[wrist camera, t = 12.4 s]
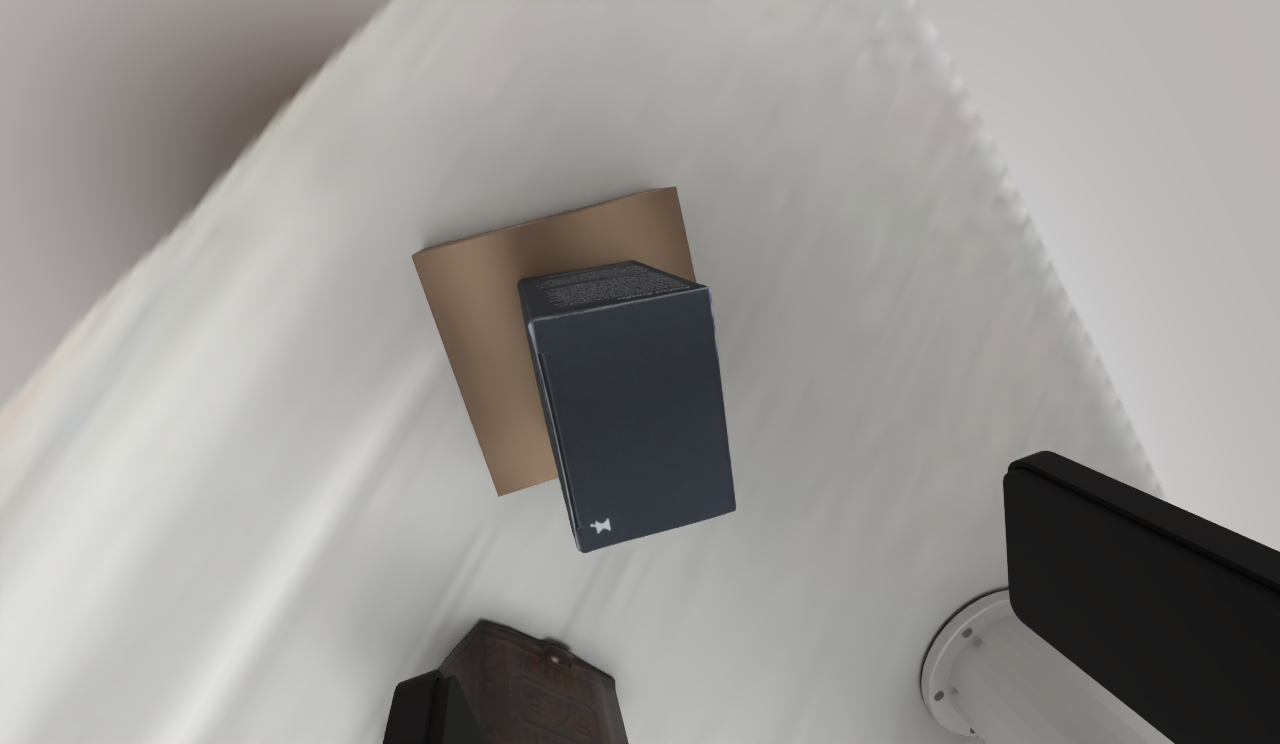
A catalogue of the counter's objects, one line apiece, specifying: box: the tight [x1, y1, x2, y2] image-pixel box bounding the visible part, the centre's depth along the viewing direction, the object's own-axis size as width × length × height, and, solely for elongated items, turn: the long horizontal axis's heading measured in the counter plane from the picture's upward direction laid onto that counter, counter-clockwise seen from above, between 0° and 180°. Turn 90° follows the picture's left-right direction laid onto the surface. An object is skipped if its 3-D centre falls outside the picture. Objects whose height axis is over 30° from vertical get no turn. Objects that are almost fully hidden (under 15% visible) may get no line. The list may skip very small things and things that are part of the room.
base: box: [412, 187, 696, 496], centre depth 30 cm, size 12×12×4 cm
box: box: [518, 260, 736, 553], centre depth 23 cm, size 8×6×11 cm
